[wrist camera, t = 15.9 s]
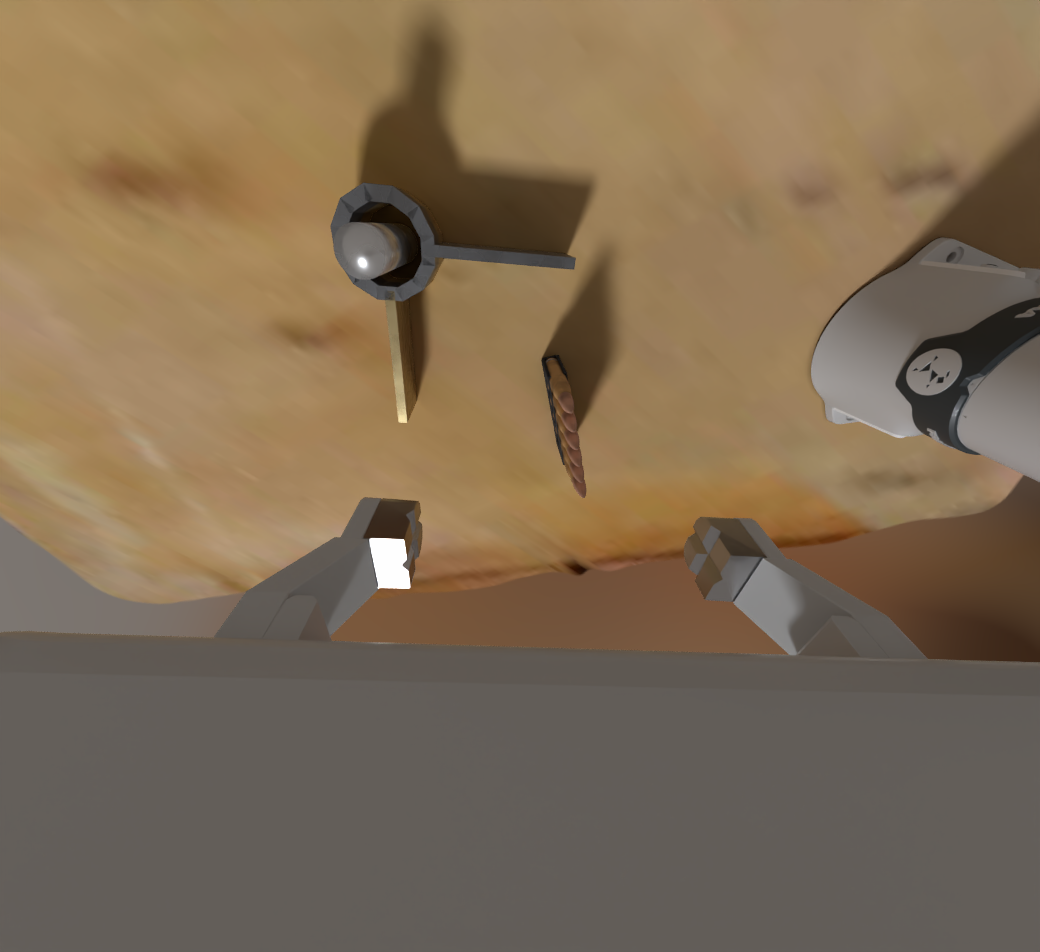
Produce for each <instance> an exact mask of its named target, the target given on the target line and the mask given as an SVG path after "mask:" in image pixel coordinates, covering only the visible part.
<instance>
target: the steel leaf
mask: <svg viewBox="0 0 1040 952" xmlns="http://www.w3.org/2000/svg"><path fill="white" fill-rule="evenodd" d="M378 203H384V204H392V205H393V206H395V207H396V208H397V209H399V210H400V211H401V212H403V213H404V214H405V215H407V216H408V217H409V218H410V220H411V222H412V224H413V225H414V227H415V229H416V231H417V233H418V235H419V237H420V239H421V255H422V262H421V264H420V266H419V268H418V270H417V272H416V274H415V276H414V278H412V279H411V280H409V281H407V282H406V283H401V282H388V281H386V280H385V279H383V278H382V277H380V276H378V277H375V278H373V279H370V280H360V279H357V278H355V277H353V276H351V275H349V274H348V273H347V272H346V271H345V270H344V271H345V272H346V274H347V275H348V277H349V278H350V280H351V281H352V283H353V284H354V285H356V286H357V287H359V288H361V289H362V290H364V291H365V292H367V293H368V294H370V295H371V296H373V297H375V298H376V299H379V300H387V299H386V298H385V297H387V298H388V296H389V297H390V298H391V299H393V298H394V297H395V298H394V299H395V301H404V300H406V299H408V298H410V297H411V296H413V295H415V294H417V293H418V292H420V291H422V290H424V289H425V288H426V287H427V286H428V285H429V283H430V281H431V279H432V277H433V275H434V273H435V271H436V269H437V267H438V265H439V258H449V259H460V260H472V261H483V262H494V263H506V264H517V265H528V266H540V267H551V268H562V269H574V267H575V260H576V258H575V257H572V256H570V255H567V254H565V253H555V252H544V251H533V250H522V249H511V248H501V247H490V246H479V245H468V244H457V243H446V242H441V243H439V236H438V233H437V231H436V229H435V227H434V225H433V223H432V221H431V219H430V217H429V215H428V213H427V211H426V209H425V207H423V206H422V205H421V204H420V203H418V202H417V201H416V200H414V199H413V198H412V197H410V196H409V195H408V194H407V193H405V192H404V191H403V190H401V189H399V188H397V187H394V186H389V185H379V184H370V183H362V184H361V185H359V186H358V187H356V188H355V189H353V190H352V191H350V192H349V193H347V194H346V195H344V196H343V197H341V198H340V200H339V203H338V206H337V209H336V212H335V215H334V217H333V220H332V223H331V232H332V238H333V243H334V237H335V234H336V232H337V231H338V229H339V228H340V227H341V226H343V225H344V224H347V223H351V222H361V219H362V216H363V214H364V212H366V211H367V210H369V209H371V208H372V207H374V206H375V205H377V204H378ZM388 291H393V292H395V296H393V295H394V294H393V292H391V293H390V294H389V292H388ZM384 293H385V294H384ZM387 293H388V294H387ZM391 294H392V297H393V298H392V297H391ZM394 299H393V300H394ZM388 300H390V299H389V298H388Z"/></svg>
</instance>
